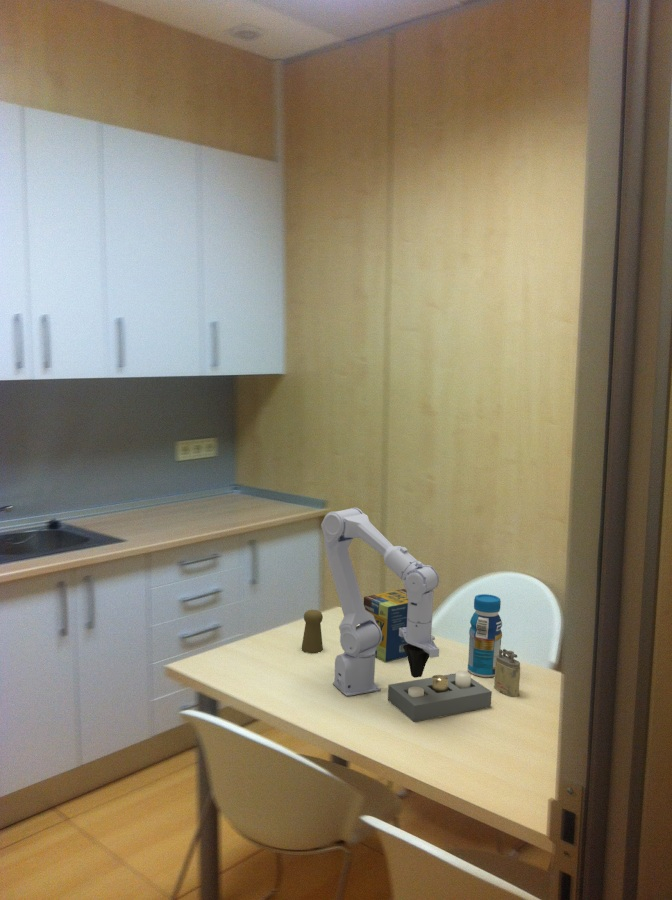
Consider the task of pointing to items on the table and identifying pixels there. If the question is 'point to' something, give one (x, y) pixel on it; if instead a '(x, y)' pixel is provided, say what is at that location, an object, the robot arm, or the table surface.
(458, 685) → the far knob
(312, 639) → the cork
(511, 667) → the lighter
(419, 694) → the near knob
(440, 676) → the brass knob
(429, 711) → the grey slotted block
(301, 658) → the table surface
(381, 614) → the protein box
